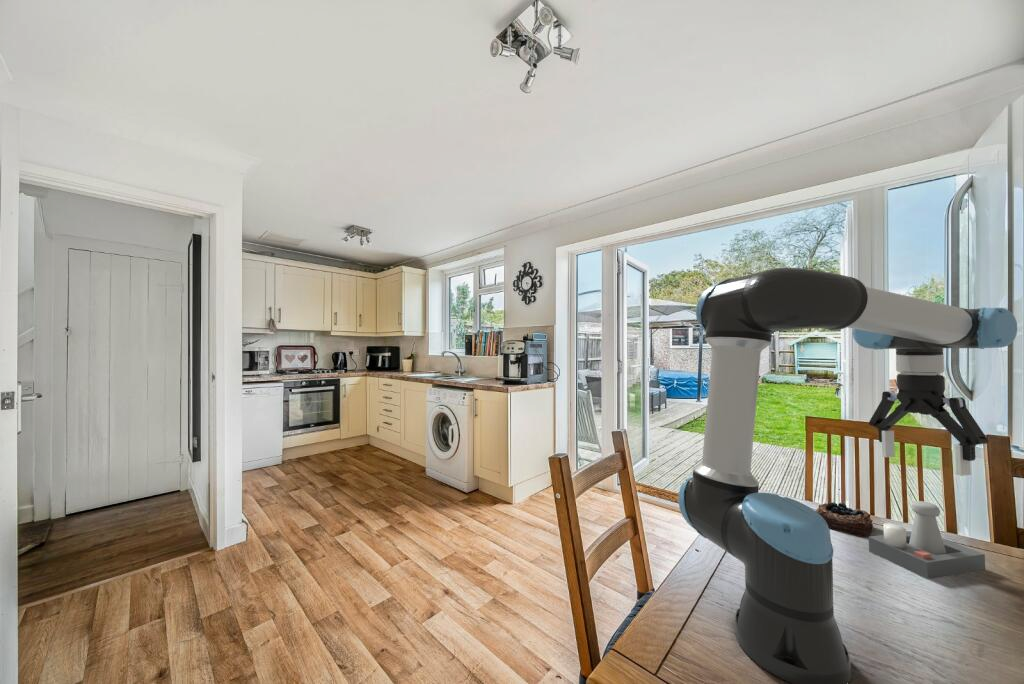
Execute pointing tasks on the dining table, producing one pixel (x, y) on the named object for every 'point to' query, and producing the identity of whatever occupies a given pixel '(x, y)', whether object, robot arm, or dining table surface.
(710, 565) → the dining table surface
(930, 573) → the grey rimmed tray
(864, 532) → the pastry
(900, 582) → the dining table surface
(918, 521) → the salt shaker
